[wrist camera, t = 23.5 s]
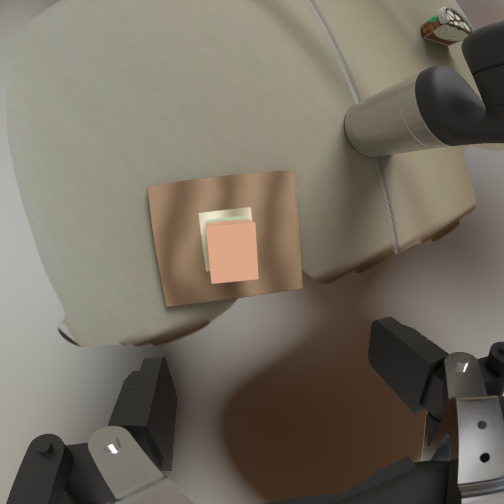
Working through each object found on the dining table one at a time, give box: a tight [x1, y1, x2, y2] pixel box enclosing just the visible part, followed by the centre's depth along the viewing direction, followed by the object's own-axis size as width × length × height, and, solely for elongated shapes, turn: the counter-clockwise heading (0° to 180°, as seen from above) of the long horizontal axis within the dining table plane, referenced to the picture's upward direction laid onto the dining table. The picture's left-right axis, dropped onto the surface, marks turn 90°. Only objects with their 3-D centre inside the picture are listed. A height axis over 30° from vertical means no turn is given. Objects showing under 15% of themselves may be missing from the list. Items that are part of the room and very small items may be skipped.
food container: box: [421, 7, 474, 46], centre depth 31 cm, size 12×6×10 cm, turn 102°
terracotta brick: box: [206, 219, 259, 284], centre depth 31 cm, size 5×6×4 cm
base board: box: [147, 170, 303, 307], centre depth 38 cm, size 20×17×2 cm
